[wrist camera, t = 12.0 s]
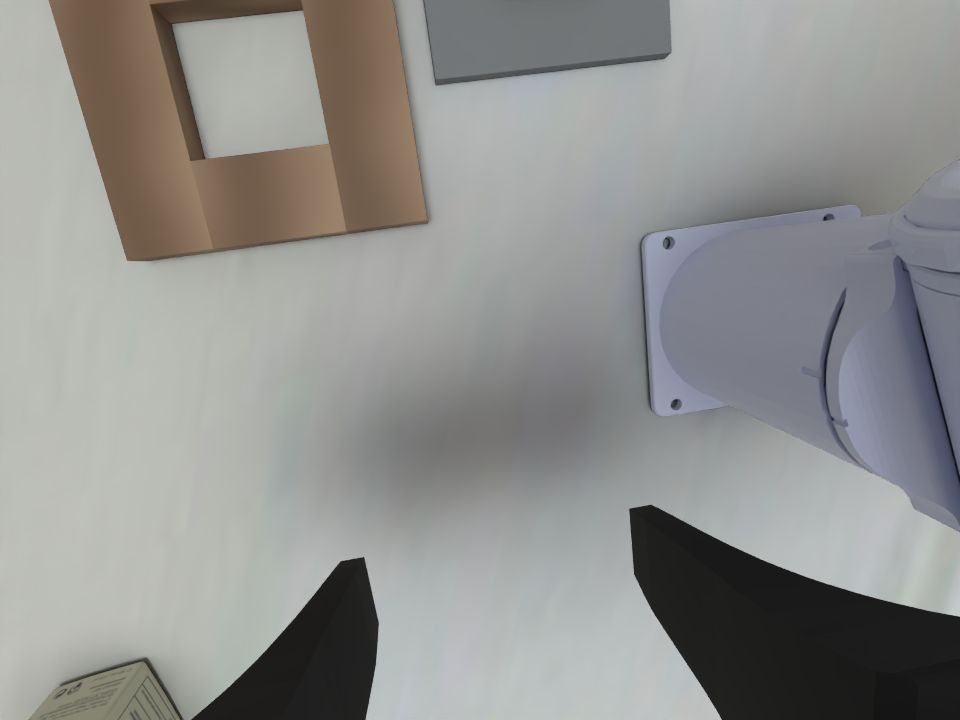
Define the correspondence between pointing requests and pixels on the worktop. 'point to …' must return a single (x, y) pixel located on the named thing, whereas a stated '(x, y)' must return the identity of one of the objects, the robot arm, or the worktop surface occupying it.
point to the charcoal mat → (542, 35)
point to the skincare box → (109, 698)
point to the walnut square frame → (250, 177)
